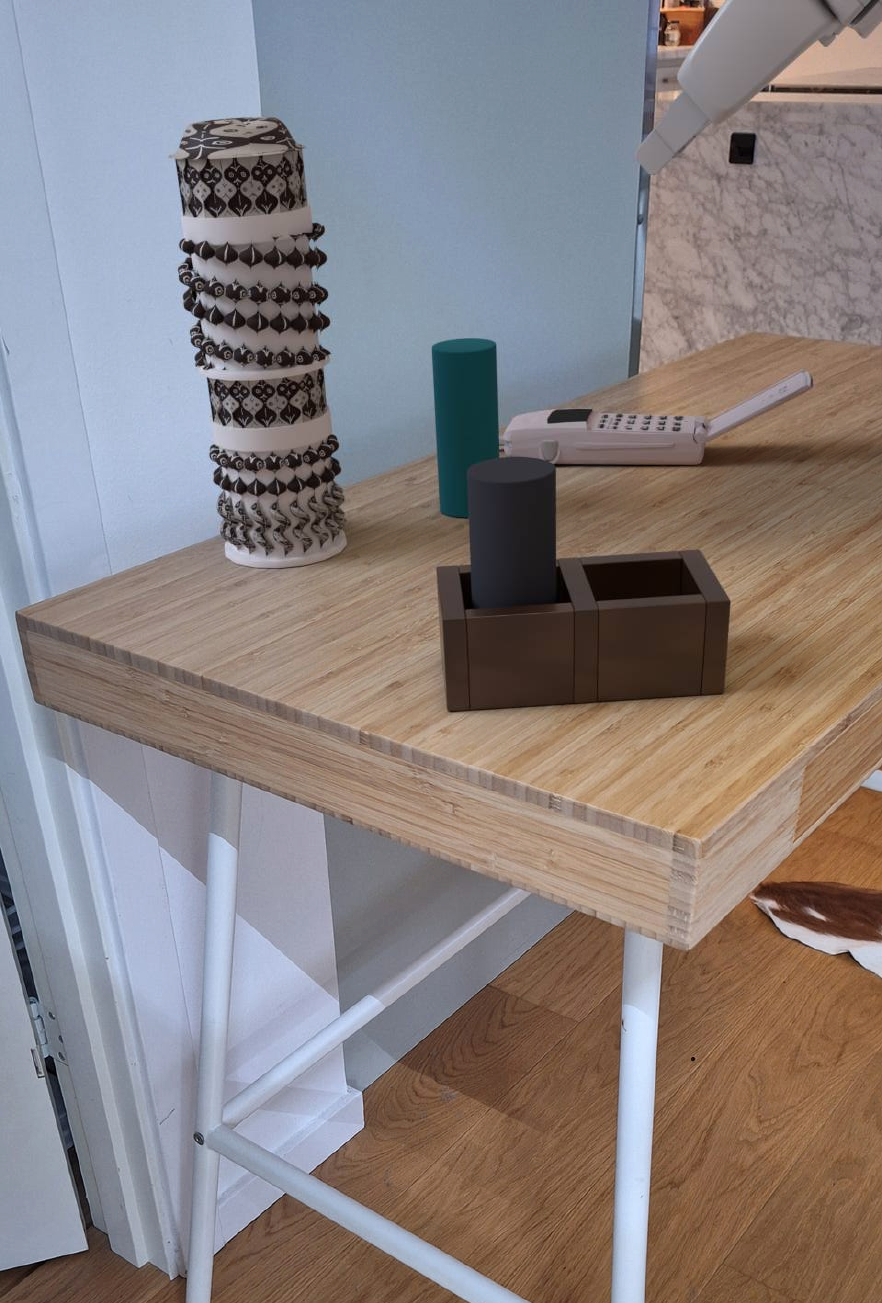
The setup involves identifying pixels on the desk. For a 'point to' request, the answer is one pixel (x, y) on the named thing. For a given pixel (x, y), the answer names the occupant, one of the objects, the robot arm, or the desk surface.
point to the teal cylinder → (464, 415)
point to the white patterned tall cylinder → (260, 339)
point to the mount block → (588, 634)
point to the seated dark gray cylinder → (512, 532)
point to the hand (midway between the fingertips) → (654, 157)
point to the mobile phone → (636, 431)
